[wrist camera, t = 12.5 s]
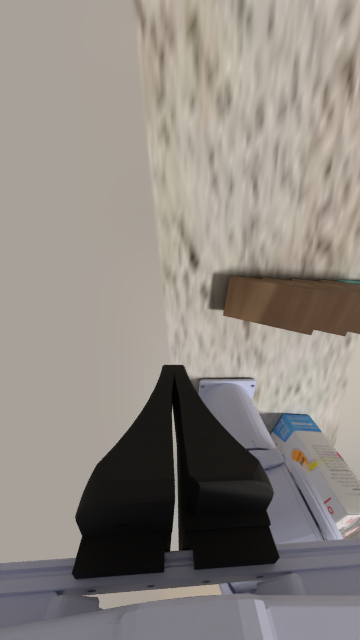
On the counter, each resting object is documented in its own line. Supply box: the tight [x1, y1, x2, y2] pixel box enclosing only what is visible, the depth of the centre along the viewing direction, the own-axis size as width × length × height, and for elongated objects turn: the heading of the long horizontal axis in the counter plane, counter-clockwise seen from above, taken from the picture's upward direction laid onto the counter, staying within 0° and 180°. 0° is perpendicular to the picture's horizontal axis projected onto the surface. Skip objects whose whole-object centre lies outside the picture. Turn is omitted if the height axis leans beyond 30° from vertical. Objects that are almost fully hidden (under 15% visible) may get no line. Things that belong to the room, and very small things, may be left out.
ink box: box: [270, 414, 360, 540], centre depth 24 cm, size 8×5×15 cm, turn 170°
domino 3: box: [291, 278, 360, 334], centre depth 18 cm, size 2×4×8 cm
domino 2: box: [262, 277, 360, 336], centre depth 18 cm, size 2×4×8 cm
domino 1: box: [223, 276, 329, 335], centre depth 17 cm, size 2×4×8 cm
